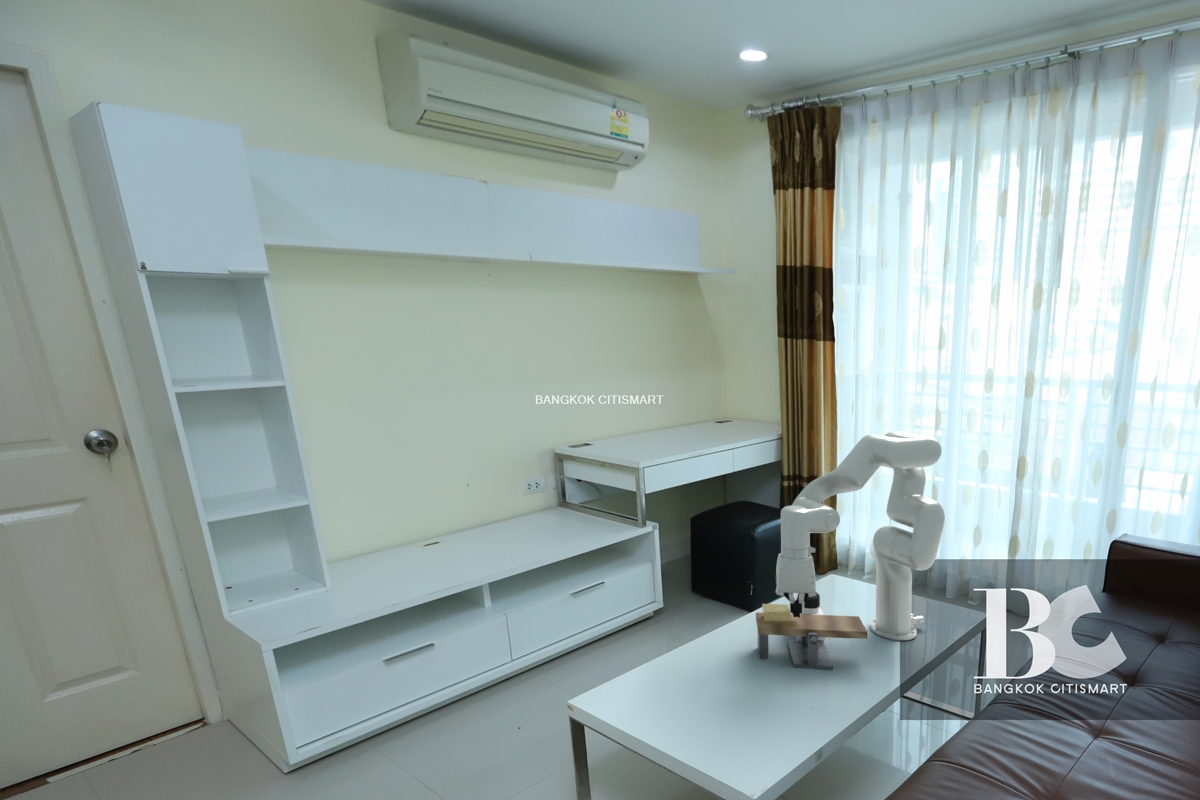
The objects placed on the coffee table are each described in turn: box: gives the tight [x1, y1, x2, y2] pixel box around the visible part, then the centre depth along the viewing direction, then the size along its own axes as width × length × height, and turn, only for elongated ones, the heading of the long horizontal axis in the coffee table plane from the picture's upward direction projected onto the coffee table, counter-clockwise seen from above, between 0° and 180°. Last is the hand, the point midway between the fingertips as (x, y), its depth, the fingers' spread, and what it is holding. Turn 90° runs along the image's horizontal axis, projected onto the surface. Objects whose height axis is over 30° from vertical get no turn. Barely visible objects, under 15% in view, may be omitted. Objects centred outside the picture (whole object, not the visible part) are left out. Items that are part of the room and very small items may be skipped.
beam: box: [755, 612, 868, 640], centre depth 165 cm, size 28×9×2 cm, turn 80°
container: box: [791, 591, 826, 641], centre depth 177 cm, size 8×8×13 cm
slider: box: [761, 603, 791, 625], centre depth 166 cm, size 7×5×4 cm
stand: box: [757, 613, 834, 671], centre depth 166 cm, size 19×14×10 cm
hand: (796, 615), depth 165 cm, fingers closed
